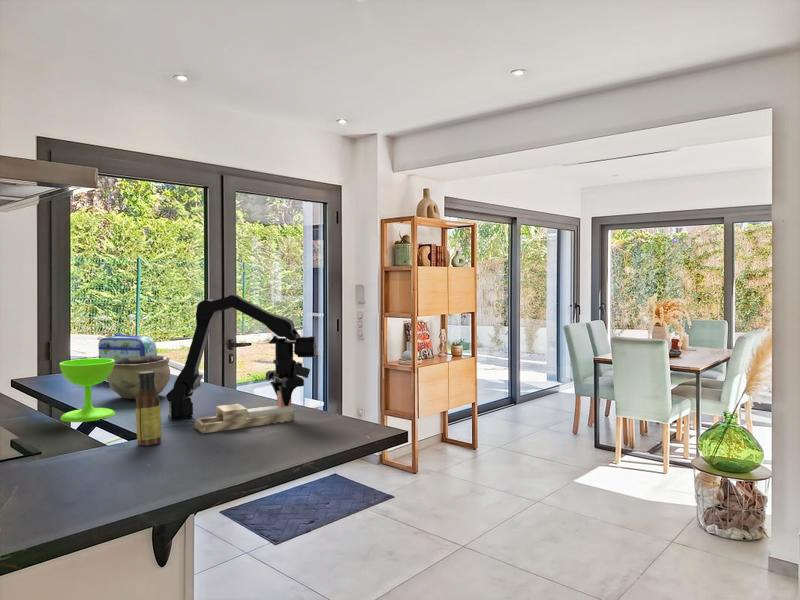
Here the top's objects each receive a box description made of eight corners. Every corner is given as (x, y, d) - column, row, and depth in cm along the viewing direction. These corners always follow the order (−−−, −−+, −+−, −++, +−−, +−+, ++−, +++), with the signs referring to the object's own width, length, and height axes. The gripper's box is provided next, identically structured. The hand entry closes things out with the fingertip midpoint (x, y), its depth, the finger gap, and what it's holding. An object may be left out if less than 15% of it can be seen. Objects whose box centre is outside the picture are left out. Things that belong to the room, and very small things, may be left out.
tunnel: (201, 433, 168) (201, 414, 168) (194, 427, 175) (194, 408, 175) (294, 420, 184) (294, 403, 184) (284, 415, 191) (284, 398, 191)
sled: (248, 421, 178) (248, 396, 178) (244, 418, 182) (244, 393, 181) (291, 415, 186) (291, 391, 186) (286, 412, 189) (286, 389, 189)
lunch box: (94, 382, 249) (93, 334, 248) (114, 378, 259) (114, 332, 258) (140, 386, 240) (140, 337, 239) (159, 382, 250) (159, 334, 249)
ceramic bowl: (176, 400, 214) (176, 360, 213) (112, 407, 202) (111, 364, 201) (163, 390, 232) (163, 353, 232) (103, 396, 220) (103, 357, 220)
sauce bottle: (166, 441, 159) (166, 370, 159) (150, 447, 154) (149, 374, 153) (147, 439, 162) (147, 369, 161) (130, 445, 156) (130, 372, 155)
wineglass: (110, 420, 183) (109, 364, 182) (53, 423, 178) (52, 366, 178) (119, 409, 198) (119, 357, 198) (67, 412, 194) (66, 359, 193)
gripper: (319, 358, 183) (319, 407, 183) (296, 352, 198) (295, 397, 199) (286, 361, 177) (286, 411, 177) (265, 354, 192) (265, 400, 193)
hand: (284, 404), depth 187 cm, fingers closed on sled, 3 cm apart
